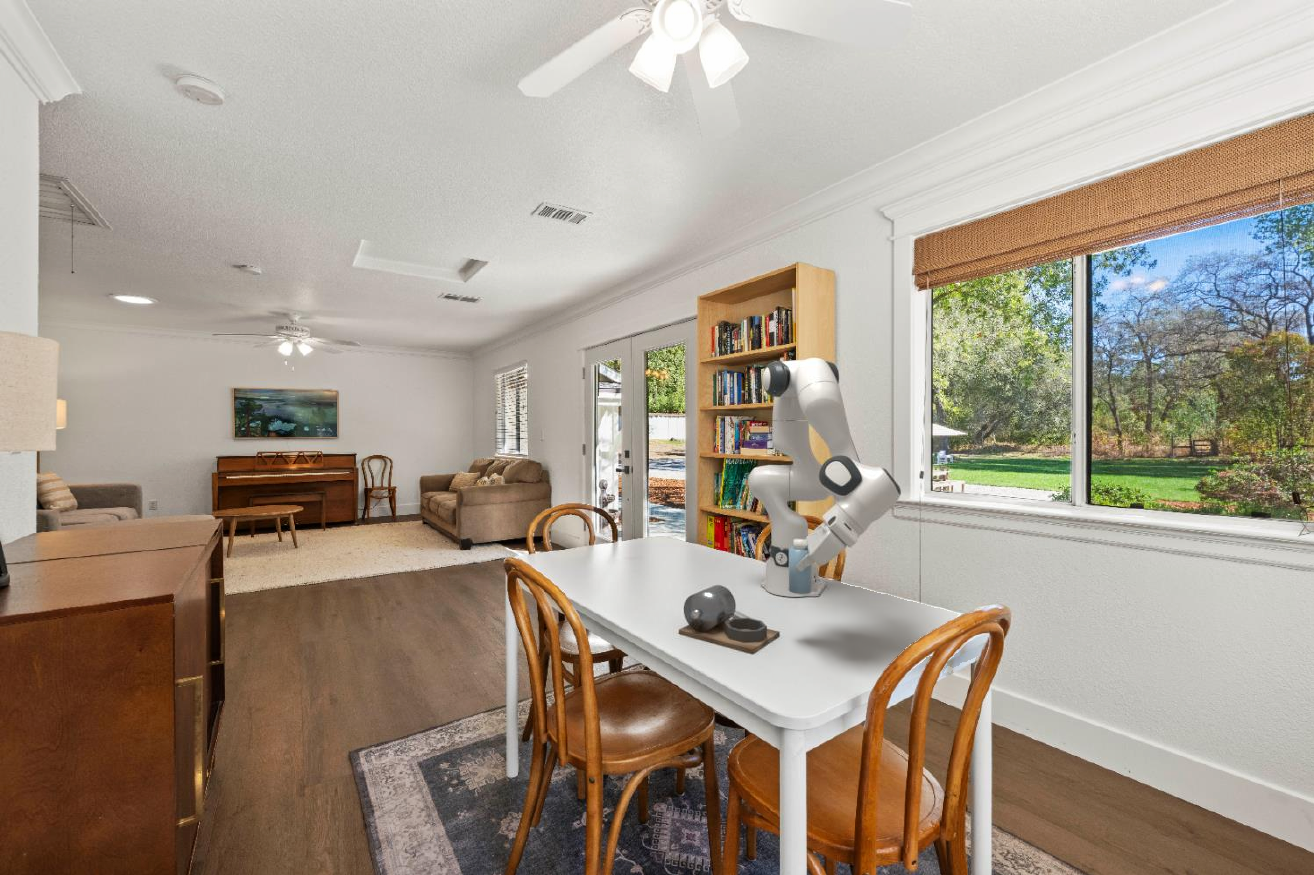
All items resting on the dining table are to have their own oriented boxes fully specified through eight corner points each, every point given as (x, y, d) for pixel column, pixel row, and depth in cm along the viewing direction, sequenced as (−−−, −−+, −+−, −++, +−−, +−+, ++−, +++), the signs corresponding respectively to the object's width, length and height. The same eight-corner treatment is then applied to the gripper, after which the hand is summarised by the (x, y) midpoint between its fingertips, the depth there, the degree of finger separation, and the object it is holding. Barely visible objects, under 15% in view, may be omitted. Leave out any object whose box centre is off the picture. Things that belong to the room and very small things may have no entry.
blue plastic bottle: (794, 586, 135) (794, 537, 134) (814, 590, 132) (815, 539, 131) (785, 591, 131) (785, 540, 130) (806, 595, 127) (806, 543, 127)
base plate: (709, 618, 146) (709, 614, 146) (779, 635, 134) (779, 631, 134) (678, 633, 135) (678, 629, 135) (752, 654, 123) (752, 649, 123)
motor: (705, 616, 145) (705, 582, 145) (735, 624, 139) (735, 588, 139) (678, 629, 135) (679, 592, 135) (710, 638, 130) (710, 599, 130)
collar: (737, 625, 138) (738, 615, 138) (771, 633, 133) (771, 623, 133) (718, 636, 131) (719, 625, 131) (753, 645, 125) (754, 634, 125)
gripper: (827, 509, 139) (787, 546, 142) (835, 523, 119) (788, 565, 122) (845, 527, 139) (804, 564, 141) (857, 544, 119) (809, 587, 121)
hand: (797, 565), depth 131 cm, fingers closed on blue plastic bottle, 5 cm apart
